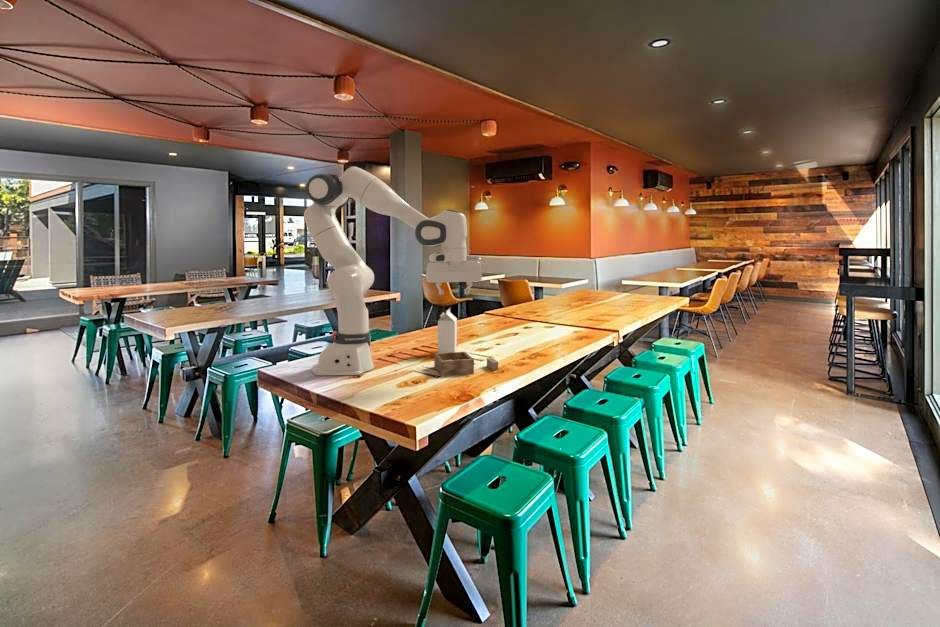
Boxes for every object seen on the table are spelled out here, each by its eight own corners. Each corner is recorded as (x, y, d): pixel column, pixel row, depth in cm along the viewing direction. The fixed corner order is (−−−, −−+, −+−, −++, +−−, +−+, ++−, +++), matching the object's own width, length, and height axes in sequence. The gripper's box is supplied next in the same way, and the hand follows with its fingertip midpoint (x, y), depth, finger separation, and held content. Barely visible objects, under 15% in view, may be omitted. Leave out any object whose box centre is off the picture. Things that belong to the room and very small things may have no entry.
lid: (481, 377, 178) (481, 365, 177) (471, 368, 190) (471, 357, 189) (514, 375, 181) (514, 363, 181) (502, 366, 193) (502, 354, 192)
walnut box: (441, 377, 175) (441, 361, 174) (434, 368, 186) (434, 353, 185) (473, 375, 178) (473, 359, 177) (464, 366, 190) (464, 351, 189)
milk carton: (456, 352, 211) (457, 309, 208) (454, 356, 204) (454, 311, 201) (440, 352, 212) (440, 308, 209) (437, 356, 205) (437, 311, 202)
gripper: (479, 255, 181) (478, 292, 183) (424, 255, 175) (425, 294, 177) (484, 256, 175) (484, 294, 177) (428, 256, 169) (428, 296, 172)
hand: (454, 294), depth 177 cm, fingers open, 8 cm apart
